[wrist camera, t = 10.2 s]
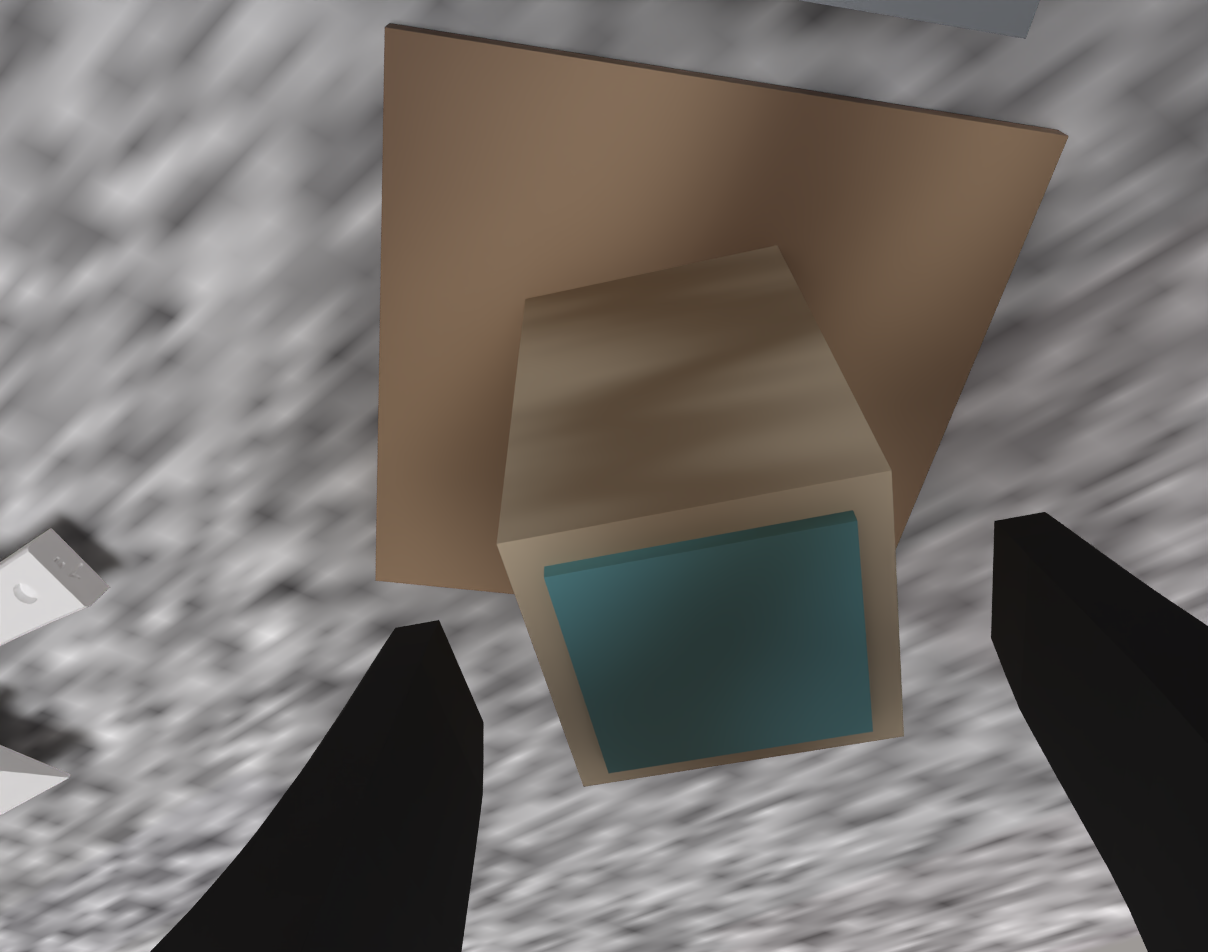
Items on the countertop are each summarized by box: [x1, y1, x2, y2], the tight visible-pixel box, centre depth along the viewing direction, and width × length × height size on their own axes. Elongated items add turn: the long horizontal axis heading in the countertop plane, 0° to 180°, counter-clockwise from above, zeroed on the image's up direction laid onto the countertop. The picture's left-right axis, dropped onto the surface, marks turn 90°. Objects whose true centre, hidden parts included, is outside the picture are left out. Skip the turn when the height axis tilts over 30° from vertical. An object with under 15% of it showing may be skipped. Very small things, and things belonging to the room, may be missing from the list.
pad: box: [376, 23, 1068, 594], centre depth 18 cm, size 11×11×1 cm
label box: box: [497, 246, 904, 787], centre depth 14 cm, size 4×4×7 cm
